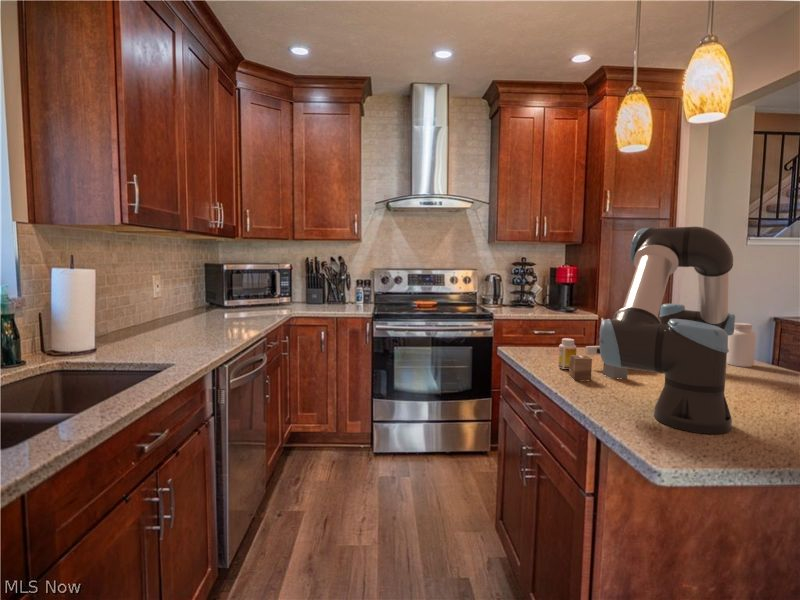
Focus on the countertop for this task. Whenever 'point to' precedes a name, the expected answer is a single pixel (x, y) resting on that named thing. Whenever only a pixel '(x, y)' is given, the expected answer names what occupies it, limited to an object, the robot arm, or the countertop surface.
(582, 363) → the walnut block
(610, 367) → the slate block
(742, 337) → the pill bottle
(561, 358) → the supplement bottle
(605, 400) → the countertop surface
